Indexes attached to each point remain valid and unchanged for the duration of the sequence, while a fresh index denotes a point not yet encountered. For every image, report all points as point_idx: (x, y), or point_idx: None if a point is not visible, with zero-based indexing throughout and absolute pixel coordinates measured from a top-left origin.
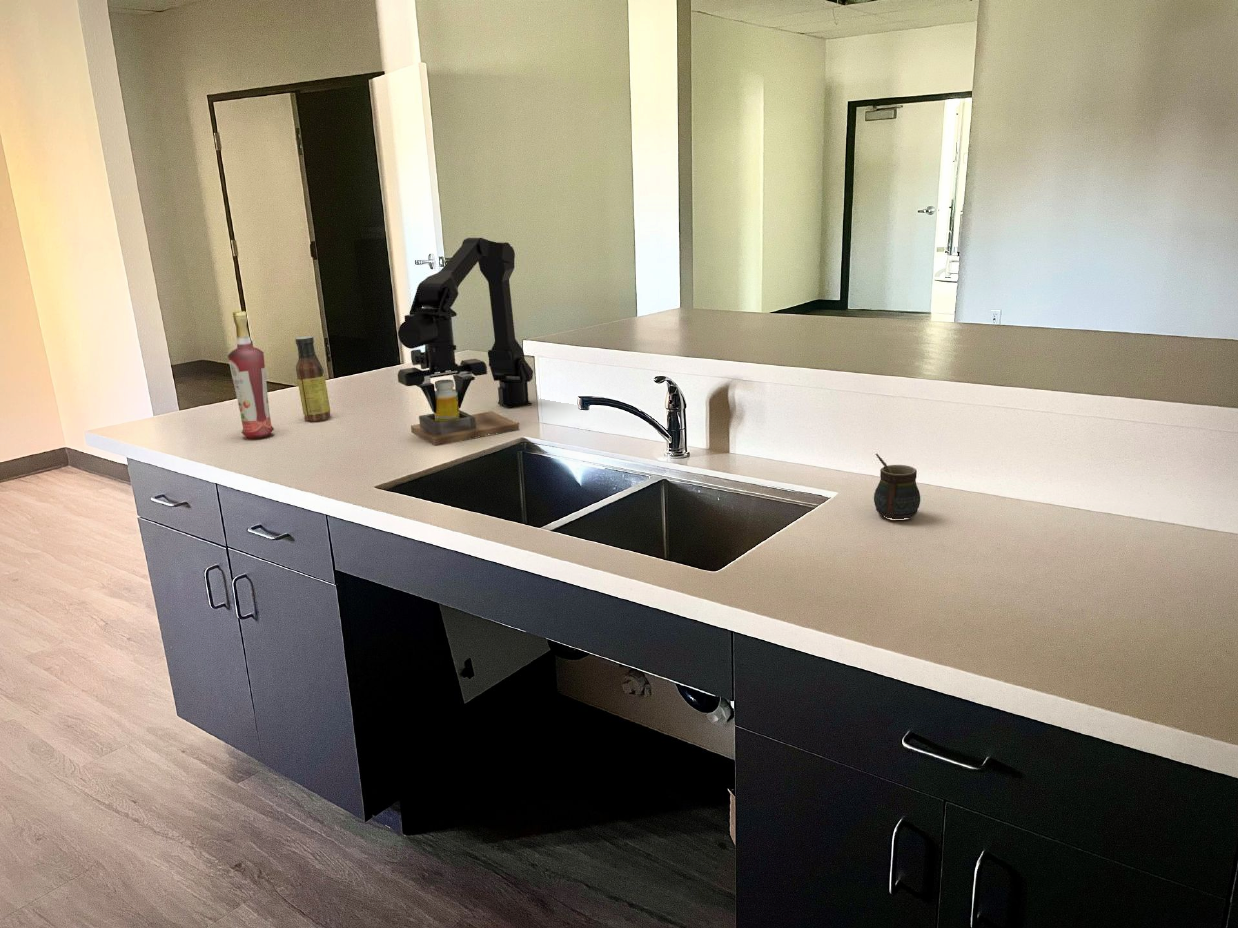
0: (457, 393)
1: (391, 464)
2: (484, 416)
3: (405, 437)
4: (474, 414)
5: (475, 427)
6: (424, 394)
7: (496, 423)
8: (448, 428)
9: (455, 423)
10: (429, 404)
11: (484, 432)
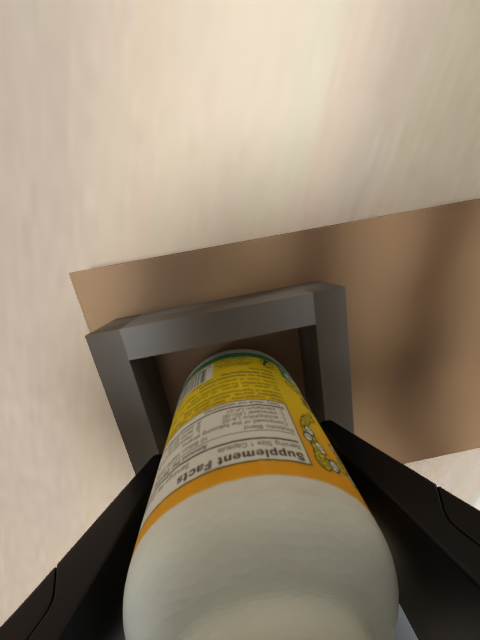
0: (392, 540)
1: (17, 601)
2: (438, 280)
3: (59, 345)
4: (418, 213)
5: None
6: (4, 626)
7: (424, 414)
8: None
9: None
10: (115, 506)
11: None
